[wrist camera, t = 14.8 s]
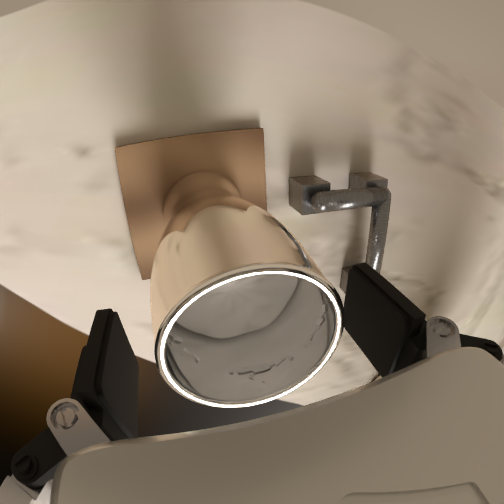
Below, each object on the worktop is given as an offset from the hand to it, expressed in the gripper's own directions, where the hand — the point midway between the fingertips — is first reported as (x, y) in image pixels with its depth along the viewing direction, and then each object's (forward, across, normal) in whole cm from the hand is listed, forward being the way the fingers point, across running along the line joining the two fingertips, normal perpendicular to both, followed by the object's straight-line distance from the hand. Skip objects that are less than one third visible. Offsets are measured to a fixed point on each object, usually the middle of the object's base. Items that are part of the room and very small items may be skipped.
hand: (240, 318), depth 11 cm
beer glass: (+13, 0, 0) cm, 13 cm away
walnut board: (+14, +1, -1) cm, 14 cm away
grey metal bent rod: (+14, -11, +4) cm, 19 cm away
